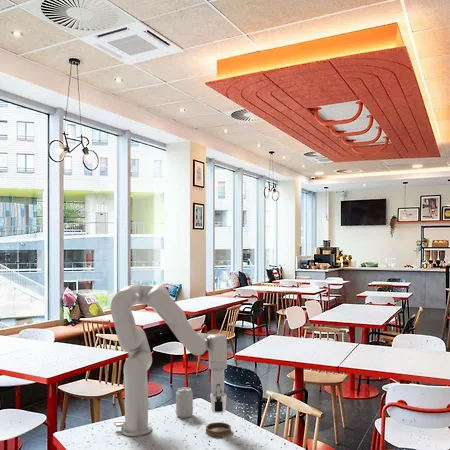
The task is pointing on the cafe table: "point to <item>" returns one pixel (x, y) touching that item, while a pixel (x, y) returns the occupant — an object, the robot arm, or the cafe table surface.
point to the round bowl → (218, 429)
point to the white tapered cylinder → (216, 399)
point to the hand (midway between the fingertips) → (218, 408)
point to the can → (184, 402)
